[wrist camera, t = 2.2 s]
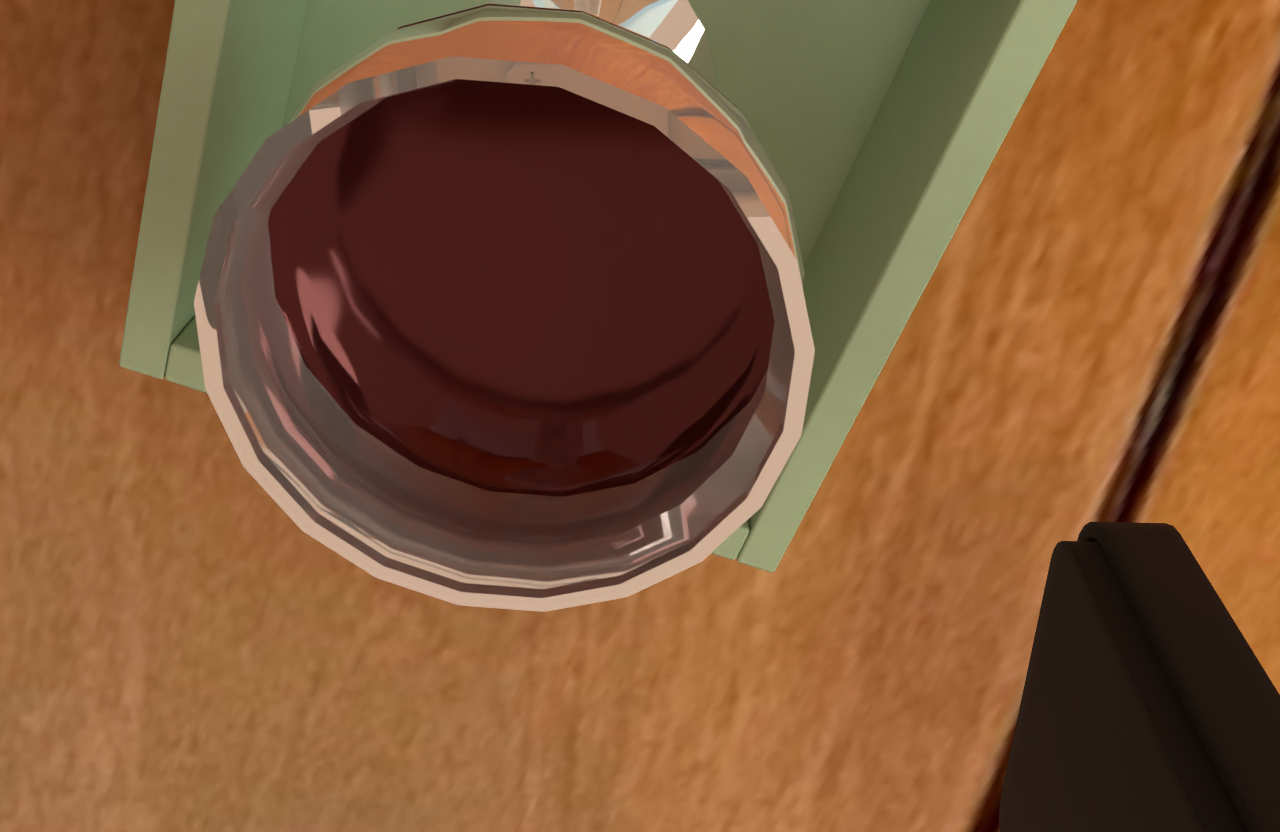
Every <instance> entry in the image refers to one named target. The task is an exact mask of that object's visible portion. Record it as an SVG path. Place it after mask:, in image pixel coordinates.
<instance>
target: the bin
mask: <svg viewBox="0 0 1280 832" xmlns="http://www.w3.org/2000/svg"><path fill="white" fill-rule="evenodd" d="M485 1H486V0H175V4H174V11H173V17H172V24H171V30H170V37H169V43H168V50H167V56H166V63H165V69H164V76H163V82H162V89H161V95H160V102H159V108H158V114H157V121H156V127H155V134H154V140H153V147H152V153H151V160H150V166H149V173H148V179H147V186H146V192H145V199H144V205H143V212H142V218H141V225H140V231H139V237H138V244H137V250H136V257H135V263H134V270H133V276H132V283H131V289H130V296H129V302H128V309H127V315H126V322H125V328H124V335H123V341H122V348H121V354H120V361H119V366H121V367H124V368H127V369H130V370H133V371H136V372H139V373H142V374H146V375H149V376H152V377H155V378H158V379H163V378H164V377H165V378H166V380H168V381H170V382H174V383H177V384H180V385H183V386H186V387H189V388H192V389H196V390H199V391H202V392H205V393H207V391H206V389H205V384H204V376H203V369H202V361H201V354H200V346H199V339H198V331H197V324H196V316H195V309H194V299H195V294H196V290H197V285H198V281H199V277H200V272H201V268H202V264H203V259H204V255H205V251H206V246H207V242H208V237H209V233H210V229H211V224H212V220H213V216H214V214H215V213H216V211H217V210H218V208H219V207H220V205H221V204H222V203H223V201H224V200H225V198H226V197H227V195H228V194H229V192H230V191H231V189H232V188H233V186H234V185H235V184H236V182H237V181H238V179H239V178H240V176H241V175H242V173H243V172H244V170H245V169H246V168H247V166H248V165H249V163H250V162H251V160H252V159H253V157H254V156H255V154H256V153H257V152H258V150H259V149H260V147H261V146H262V144H263V143H264V141H265V140H266V139H267V138H268V137H270V136H271V135H273V134H274V133H275V132H277V131H278V130H280V129H281V128H283V127H284V126H286V125H287V124H289V122H290V121H291V119H292V118H293V116H294V115H295V113H296V112H297V111H298V109H299V108H300V106H301V105H302V103H303V102H304V100H305V99H306V98H307V96H308V95H309V93H310V92H311V90H312V89H313V87H314V86H315V85H316V83H317V82H318V81H319V80H321V79H322V78H324V77H325V76H327V75H328V74H329V73H331V72H332V71H334V70H335V69H337V68H338V67H340V66H341V65H343V64H344V63H345V62H347V61H348V60H350V59H351V58H353V57H354V56H356V55H357V54H359V53H360V52H361V51H363V50H364V49H366V48H367V47H369V46H370V45H372V44H373V43H374V42H376V41H377V40H379V39H380V38H382V37H383V36H385V35H386V34H388V33H389V32H390V31H392V30H396V29H398V28H399V27H400V26H404V25H408V24H412V23H416V22H419V21H423V20H427V19H431V18H435V17H439V16H443V15H446V14H450V13H454V12H458V11H462V10H466V9H470V8H473V7H477V6H481V5H483V3H484V2H485ZM1077 1H1078V0H688V2H689V3H690V5H691V7H692V9H693V10H694V12H695V14H696V16H697V17H698V19H699V21H700V22H701V24H702V26H703V28H704V29H705V31H706V33H707V36H708V41H709V45H710V50H711V54H712V59H713V64H714V68H715V73H716V76H715V86H714V87H715V88H717V89H718V90H719V91H720V92H721V93H722V94H723V95H725V96H726V97H727V98H728V99H729V100H730V101H731V102H733V103H734V105H735V106H737V107H738V109H739V110H740V111H741V113H742V114H743V115H744V117H745V118H746V120H747V122H748V123H749V125H750V127H751V129H752V130H753V132H754V134H755V135H756V137H757V139H758V141H759V142H760V144H761V146H762V147H763V149H764V151H765V152H766V154H767V156H768V158H769V159H770V161H771V163H772V164H773V166H774V168H775V170H776V171H777V173H778V175H779V176H780V178H781V180H782V182H783V183H784V185H785V187H786V188H787V190H788V192H789V195H790V200H791V205H792V211H793V216H794V221H795V226H796V231H797V236H798V241H799V246H800V251H801V256H802V261H803V267H804V272H805V280H804V286H803V293H804V298H805V303H806V308H807V313H808V318H809V323H810V328H811V333H812V338H813V343H814V348H815V354H814V360H813V367H812V373H811V379H810V385H809V392H808V398H807V404H806V411H805V417H804V423H803V429H802V435H801V437H800V439H799V441H798V442H797V444H796V446H795V448H794V450H793V451H792V453H791V455H790V457H789V459H788V460H787V462H786V464H785V466H784V468H783V469H782V471H781V473H780V475H779V477H778V478H777V480H776V482H775V484H774V486H773V487H772V489H771V491H770V493H769V495H768V496H767V498H766V500H765V502H764V504H763V505H762V507H761V508H760V509H759V510H758V511H757V512H756V513H754V514H753V515H752V516H751V517H750V518H749V519H748V520H747V521H746V522H745V523H743V524H742V525H741V526H740V527H739V528H738V529H737V530H736V531H735V532H734V533H733V534H731V535H730V536H729V537H728V538H727V539H726V540H725V541H724V542H723V543H722V544H720V545H719V546H718V547H717V548H716V549H715V550H714V551H713V552H712V554H715V555H718V556H722V557H725V558H728V559H731V560H735V559H736V558H737V561H738V562H740V563H743V564H746V565H749V566H752V567H755V568H758V569H761V570H765V571H768V572H771V573H772V572H774V571H775V570H776V568H777V566H778V564H779V562H780V560H781V559H782V557H783V555H784V553H785V551H786V549H787V547H788V545H789V544H790V542H791V540H792V538H793V536H794V534H795V532H796V530H797V528H798V527H799V525H800V523H801V521H802V519H803V517H804V515H805V513H806V512H807V510H808V508H809V506H810V504H811V502H812V500H813V498H814V496H815V495H816V493H817V491H818V489H819V487H820V485H821V483H822V481H823V479H824V478H825V476H826V474H827V472H828V470H829V468H830V466H831V464H832V463H833V461H834V459H835V457H836V455H837V453H838V451H839V449H840V447H841V446H842V444H843V442H844V440H845V438H846V436H847V434H848V432H849V430H850V429H851V427H852V425H853V423H854V421H855V419H856V417H857V415H858V414H859V412H860V410H861V408H862V406H863V404H864V402H865V400H866V398H867V397H868V395H869V393H870V391H871V389H872V387H873V385H874V383H875V382H876V380H877V378H878V376H879V374H880V372H881V370H882V368H883V366H884V365H885V363H886V361H887V359H888V357H889V355H890V353H891V351H892V349H893V348H894V346H895V344H896V342H897V340H898V338H899V336H900V334H901V333H902V331H903V329H904V327H905V325H906V323H907V321H908V319H909V317H910V316H911V314H912V312H913V310H914V308H915V306H916V304H917V302H918V300H919V299H920V297H921V295H922V293H923V291H924V289H925V287H926V285H927V284H928V282H929V280H930V278H931V276H932V274H933V272H934V270H935V268H936V267H937V265H938V263H939V261H940V259H941V257H942V255H943V253H944V252H945V250H946V248H947V246H948V244H949V242H950V240H951V238H952V236H953V235H954V233H955V231H956V229H957V227H958V225H959V223H960V221H961V219H962V218H963V216H964V214H965V212H966V210H967V208H968V206H969V204H970V203H971V201H972V199H973V197H974V195H975V193H976V191H977V189H978V187H979V186H980V184H981V182H982V180H983V178H984V176H985V174H986V172H987V170H988V169H989V167H990V165H991V163H992V161H993V159H994V157H995V155H996V154H997V152H998V150H999V148H1000V146H1001V144H1002V142H1003V140H1004V138H1005V137H1006V135H1007V133H1008V131H1009V129H1010V127H1011V125H1012V123H1013V122H1014V120H1015V118H1016V116H1017V114H1018V112H1019V110H1020V108H1021V106H1022V105H1023V103H1024V101H1025V99H1026V97H1027V95H1028V93H1029V91H1030V89H1031V88H1032V86H1033V84H1034V82H1035V80H1036V78H1037V76H1038V74H1039V73H1040V71H1041V69H1042V67H1043V65H1044V63H1045V61H1046V59H1047V57H1048V56H1049V54H1050V52H1051V50H1052V48H1053V46H1054V44H1055V42H1056V40H1057V39H1058V37H1059V35H1060V33H1061V31H1062V29H1063V27H1064V25H1065V24H1066V22H1067V20H1068V18H1069V16H1070V14H1071V12H1072V10H1073V8H1074V7H1075V5H1076V3H1077Z"/></svg>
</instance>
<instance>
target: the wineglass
mask: <svg viewBox="0 0 1280 832" xmlns="http://www.w3.org/2000/svg"><path fill="white" fill-rule="evenodd" d="M715 76H716V73H715V68H714V64H713V59H712V54H711V50H710V45H709V41H708V36H707V33H706V31H705V29H704V28H703V26H702V24H701V22H700V21H699V19H698V17H697V16H696V14H695V12H694V10H693V9H692V7H691V5H690V3H689V2H688V0H486V1H485V2H484V3H483V5H481V6H477V7H473V8H470V9H466V10H462V11H458V12H454V13H450V14H446V15H443V16H439V17H435V18H431V19H427V20H423V21H419V22H416V23H412V24H408V25H404V26H400V27H399V28H398V29H396V30H392V31H390V32H389V33H388V34H386V35H385V36H383V37H382V38H380V39H379V40H377V41H376V42H374V43H373V44H372V45H370V46H369V47H367V48H366V49H364V50H363V51H361V52H360V53H359V54H357V55H356V56H354V57H353V58H351V59H350V60H348V61H347V62H345V63H344V64H343V65H341V66H340V67H338V68H337V69H335V70H334V71H332V72H331V73H329V74H328V75H327V76H325V77H324V78H322V79H321V80H319V81H318V82H317V83H316V85H315V86H314V87H313V89H312V90H311V92H310V93H309V95H308V96H307V98H306V99H305V100H304V102H303V103H302V105H301V106H300V108H299V109H298V111H297V112H296V113H295V115H294V116H293V118H292V119H291V121H290V122H289V124H287V125H286V126H284V127H283V128H281V129H280V130H278V131H277V132H275V133H274V134H273V135H271V136H270V137H268V138H267V139H266V140H265V141H264V143H263V144H262V146H261V147H260V149H259V150H258V152H257V153H256V154H255V156H254V157H253V159H252V160H251V162H250V163H249V165H248V166H247V168H246V169H245V170H244V172H243V173H242V175H241V176H240V178H239V179H238V181H237V182H236V184H235V185H234V186H233V188H232V189H231V191H230V192H229V194H228V195H227V197H226V198H225V200H224V201H223V203H222V204H221V205H220V207H219V208H218V210H217V211H216V213H215V214H214V216H213V220H212V224H211V229H210V233H209V237H208V242H207V246H206V251H205V255H204V259H203V264H202V268H201V272H200V277H199V281H198V285H197V290H196V294H195V299H194V309H195V316H196V324H197V331H198V339H199V346H200V354H201V361H202V369H203V376H204V384H205V389H206V391H207V393H208V395H209V398H210V400H211V402H212V404H213V406H214V408H215V410H216V412H217V414H218V416H219V418H220V420H221V422H222V424H223V426H224V428H225V430H226V432H227V434H228V436H229V438H230V440H231V442H232V444H233V447H234V449H235V451H236V453H237V455H238V457H239V459H240V461H241V463H242V465H243V467H244V468H245V469H246V470H247V471H248V472H249V473H250V474H251V476H252V477H253V478H254V479H255V480H256V481H257V482H258V483H259V484H260V485H261V486H262V488H263V489H264V490H265V491H266V492H267V493H268V494H269V495H270V496H271V497H272V498H273V499H274V501H275V502H276V503H277V504H278V505H279V506H280V507H281V508H282V509H283V510H284V511H285V513H286V514H287V515H288V516H289V517H290V518H291V519H292V520H293V521H294V522H295V523H296V525H297V526H298V527H299V528H300V529H301V530H302V531H303V532H305V533H306V534H308V535H310V536H311V537H313V538H314V539H316V540H317V541H319V542H321V543H322V544H324V545H325V546H327V547H328V548H330V549H332V550H333V551H335V552H336V553H338V554H339V555H341V556H343V557H344V558H346V559H347V560H349V561H350V562H352V563H354V564H355V565H357V566H358V567H360V568H361V569H363V570H365V571H366V572H368V573H369V574H371V575H372V576H374V577H376V578H378V579H381V580H384V581H387V582H390V583H393V584H396V585H399V586H402V587H405V588H408V589H411V590H414V591H417V592H420V593H423V594H426V595H429V596H432V597H435V598H438V599H441V600H444V601H448V602H451V603H454V604H457V605H463V606H476V607H489V608H502V609H515V610H528V611H540V612H545V611H551V610H557V609H563V608H568V607H574V606H580V605H585V604H591V603H597V602H602V601H608V600H614V599H620V598H625V597H628V596H630V595H633V594H635V593H637V592H639V591H641V590H643V589H645V588H647V587H649V586H652V585H654V584H656V583H658V582H660V581H662V580H664V579H666V578H668V577H671V576H673V575H675V574H677V573H679V572H681V571H683V570H685V569H687V568H690V567H692V566H694V565H696V564H698V563H700V562H702V561H703V560H704V559H705V558H706V557H707V556H708V555H709V554H711V553H712V552H713V551H714V550H715V549H716V548H717V547H718V546H719V545H720V544H722V543H723V542H724V541H725V540H726V539H727V538H728V537H729V536H730V535H731V534H733V533H734V532H735V531H736V530H737V529H738V528H739V527H740V526H741V525H742V524H743V523H745V522H746V521H747V520H748V519H749V518H750V517H751V516H752V515H753V514H754V513H756V512H757V511H758V510H759V509H760V508H761V507H762V505H763V504H764V502H765V500H766V498H767V496H768V495H769V493H770V491H771V489H772V487H773V486H774V484H775V482H776V480H777V478H778V477H779V475H780V473H781V471H782V469H783V468H784V466H785V464H786V462H787V460H788V459H789V457H790V455H791V453H792V451H793V450H794V448H795V446H796V444H797V442H798V441H799V439H800V437H801V435H802V429H803V423H804V417H805V411H806V404H807V398H808V392H809V385H810V379H811V373H812V367H813V360H814V354H815V348H814V343H813V338H812V333H811V328H810V323H809V318H808V313H807V308H806V303H805V298H804V293H803V286H804V280H805V272H804V267H803V261H802V256H801V251H800V246H799V241H798V236H797V231H796V226H795V221H794V216H793V211H792V205H791V200H790V195H789V192H788V190H787V188H786V187H785V185H784V183H783V182H782V180H781V178H780V176H779V175H778V173H777V171H776V170H775V168H774V166H773V164H772V163H771V161H770V159H769V158H768V156H767V154H766V152H765V151H764V149H763V147H762V146H761V144H760V142H759V141H758V139H757V137H756V135H755V134H754V132H753V130H752V129H751V127H750V125H749V123H748V122H747V120H746V118H745V117H744V115H743V114H742V113H741V111H740V110H739V109H738V107H737V106H735V105H734V103H733V102H731V101H730V100H729V99H728V98H727V97H726V96H725V95H723V94H722V93H721V92H720V91H719V90H718V89H717V88H715V87H714V86H715Z"/></svg>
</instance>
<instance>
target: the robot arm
mask: <svg viewBox="0 0 1280 832" xmlns="http://www.w3.org/2000/svg"><path fill="white" fill-rule="evenodd" d="M999 822H1000V832H1280V695H1279V693H1278V692H1277V690H1276V688H1275V687H1274V685H1273V684H1272V682H1271V680H1270V679H1269V677H1268V675H1267V674H1266V672H1265V671H1264V669H1263V667H1262V666H1261V664H1260V662H1259V661H1258V659H1257V658H1256V656H1255V654H1254V653H1253V651H1252V650H1251V648H1250V646H1249V645H1248V643H1247V641H1246V640H1245V638H1244V637H1243V635H1242V633H1241V632H1240V630H1239V629H1238V627H1237V625H1236V624H1235V622H1234V620H1233V619H1232V617H1231V616H1230V614H1229V612H1228V611H1227V609H1226V608H1225V606H1224V604H1223V603H1222V601H1221V599H1220V598H1219V596H1218V595H1217V593H1216V591H1215V590H1214V588H1213V586H1212V585H1211V583H1210V582H1209V580H1208V578H1207V577H1206V575H1205V574H1204V572H1203V570H1202V569H1201V567H1200V565H1199V564H1198V562H1197V561H1196V559H1195V557H1194V556H1193V554H1192V553H1191V551H1190V549H1189V548H1188V546H1187V544H1186V543H1185V541H1184V540H1183V538H1182V536H1181V535H1180V533H1179V532H1178V531H1177V530H1176V529H1175V528H1174V527H1173V526H1172V525H1169V524H1166V523H1122V522H1090V523H1088V524H1086V525H1085V526H1084V527H1083V529H1082V530H1081V532H1080V534H1079V537H1078V540H1077V541H1061V542H1059V543H1057V545H1056V547H1055V548H1054V551H1053V554H1052V557H1051V562H1050V566H1049V571H1048V576H1047V581H1046V585H1045V590H1044V595H1043V600H1042V605H1041V609H1040V614H1039V619H1038V624H1037V628H1036V633H1035V638H1034V643H1033V648H1032V652H1031V657H1030V662H1029V667H1028V671H1027V676H1026V681H1025V686H1024V691H1023V695H1022V700H1021V705H1020V710H1019V714H1018V719H1017V724H1016V729H1015V733H1014V738H1013V743H1012V748H1011V753H1010V757H1009V762H1008V767H1007V772H1006V776H1005V781H1004V786H1003V791H1002V796H1001V802H1000V814H999Z"/></svg>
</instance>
